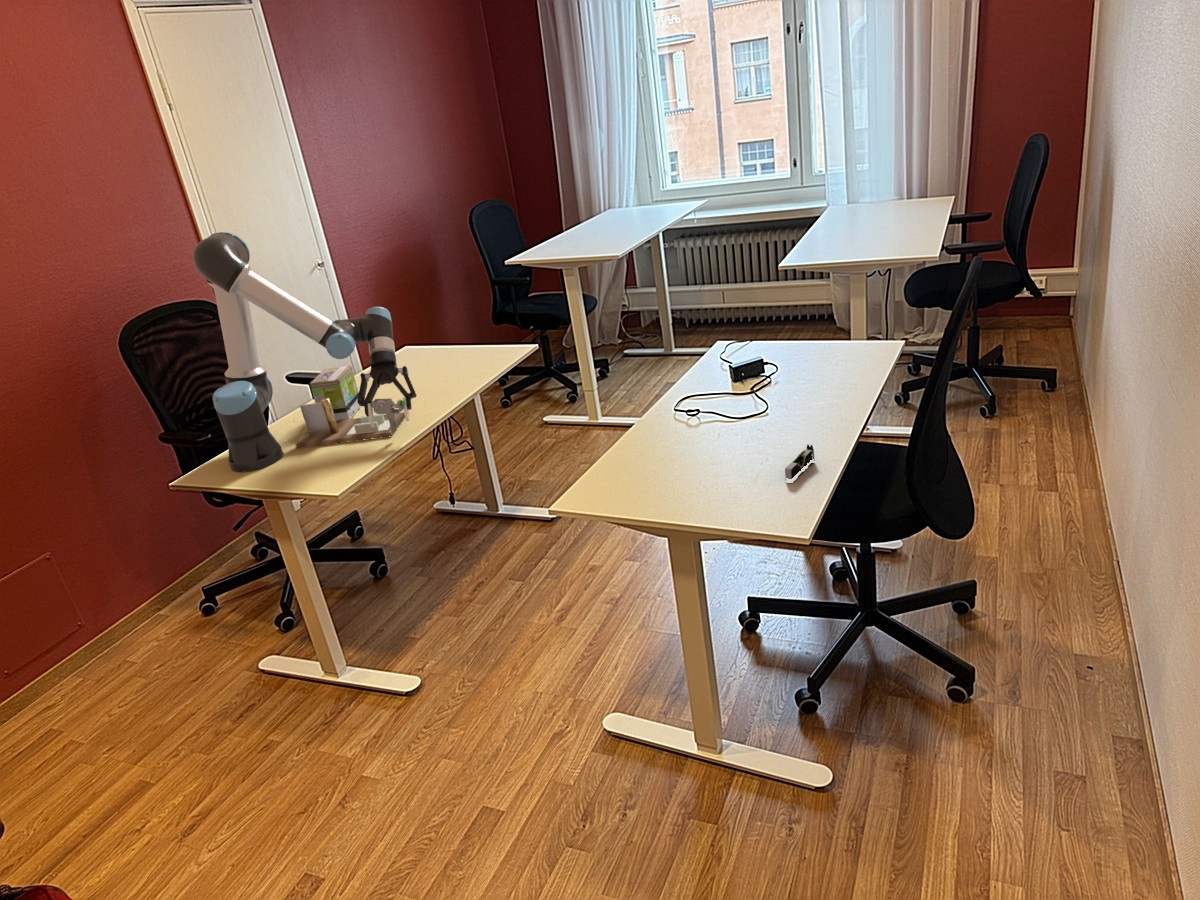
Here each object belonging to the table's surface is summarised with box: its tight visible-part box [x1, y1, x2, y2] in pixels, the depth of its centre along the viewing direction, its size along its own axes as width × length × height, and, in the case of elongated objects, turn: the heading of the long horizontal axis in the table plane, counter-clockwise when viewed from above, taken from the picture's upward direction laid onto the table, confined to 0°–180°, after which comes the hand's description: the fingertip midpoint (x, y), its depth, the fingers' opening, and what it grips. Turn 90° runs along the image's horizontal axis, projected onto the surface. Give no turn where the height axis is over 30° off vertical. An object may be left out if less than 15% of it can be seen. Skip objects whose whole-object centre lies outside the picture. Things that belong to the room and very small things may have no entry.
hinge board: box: [295, 398, 405, 449], centre depth 248 cm, size 30×16×12 cm, turn 88°
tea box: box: [309, 365, 361, 421], centre depth 264 cm, size 15×10×15 cm
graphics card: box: [784, 444, 815, 479], centre depth 182 cm, size 12×3×5 cm, turn 141°
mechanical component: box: [370, 398, 405, 434], centre depth 236 cm, size 3×10×10 cm, turn 76°
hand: (389, 422), depth 234 cm, fingers closed on mechanical component, 9 cm apart
